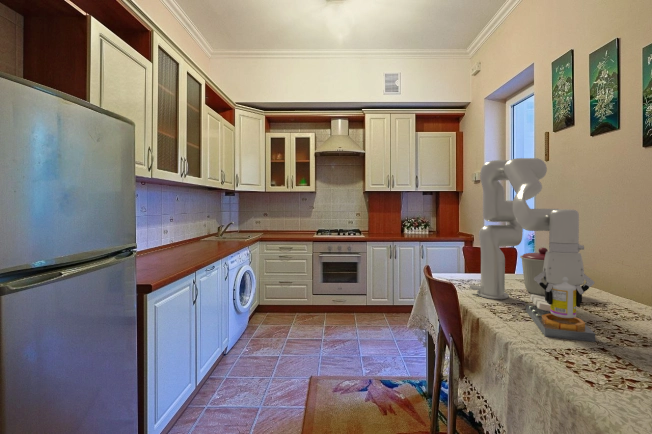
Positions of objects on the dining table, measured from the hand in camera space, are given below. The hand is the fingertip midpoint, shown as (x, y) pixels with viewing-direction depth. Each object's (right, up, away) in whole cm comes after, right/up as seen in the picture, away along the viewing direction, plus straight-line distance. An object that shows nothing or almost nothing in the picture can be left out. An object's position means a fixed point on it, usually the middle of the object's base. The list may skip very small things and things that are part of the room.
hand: (562, 304), depth 104 cm
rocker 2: (+5, -3, +12) cm, 14 cm away
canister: (+24, -8, +46) cm, 53 cm away
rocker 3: (+3, -4, +8) cm, 9 cm away
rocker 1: (+6, -3, +17) cm, 18 cm away
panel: (+2, -9, +6) cm, 11 cm away
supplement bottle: (0, -4, 0) cm, 4 cm away
